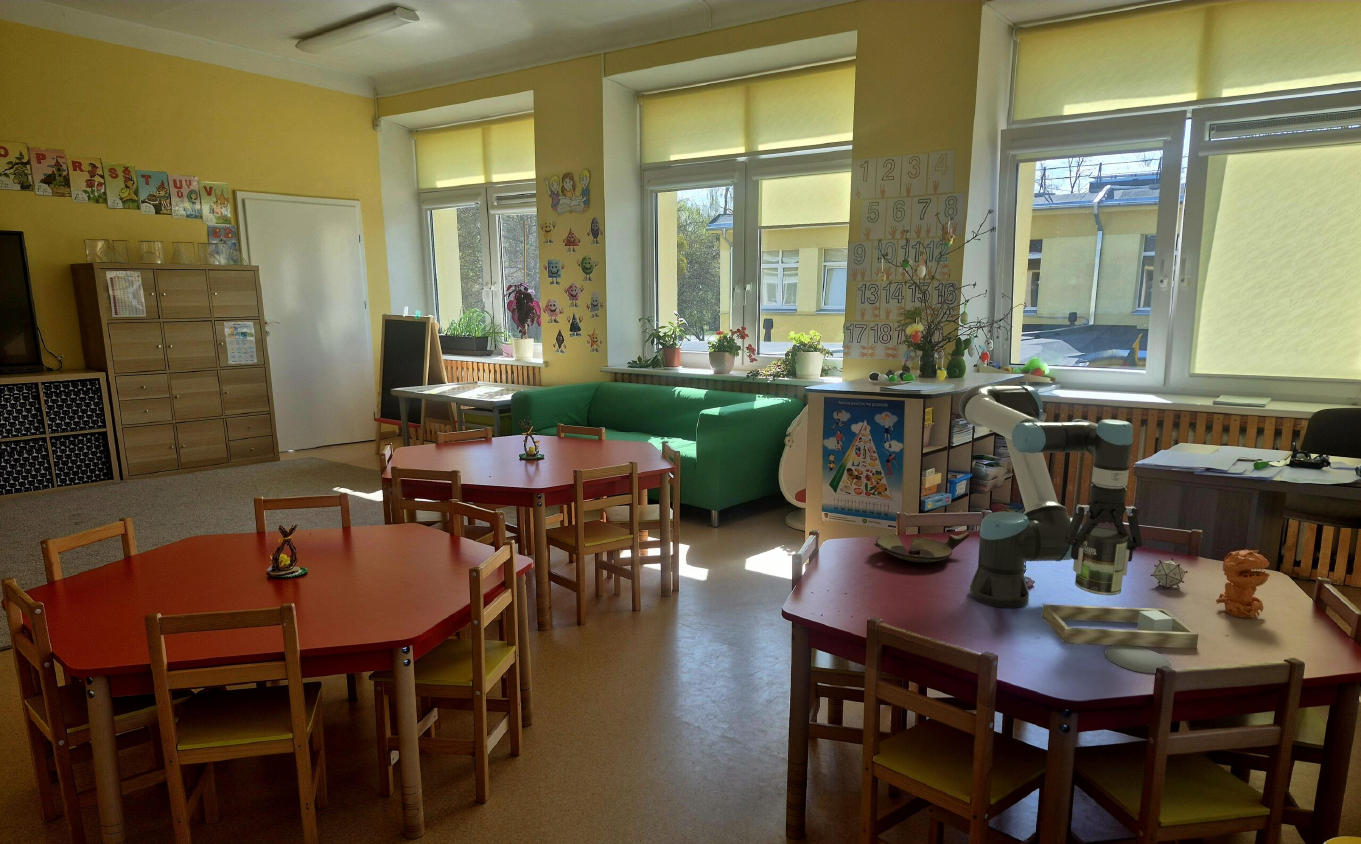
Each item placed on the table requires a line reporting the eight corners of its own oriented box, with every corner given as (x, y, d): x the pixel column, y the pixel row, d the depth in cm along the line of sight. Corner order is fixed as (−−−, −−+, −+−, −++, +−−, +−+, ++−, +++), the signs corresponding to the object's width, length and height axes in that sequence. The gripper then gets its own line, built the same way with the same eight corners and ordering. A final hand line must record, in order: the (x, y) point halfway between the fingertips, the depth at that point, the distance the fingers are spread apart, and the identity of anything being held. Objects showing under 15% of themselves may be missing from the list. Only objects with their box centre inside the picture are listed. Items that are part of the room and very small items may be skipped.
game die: (1174, 601, 221) (1197, 582, 214) (1144, 588, 222) (1166, 569, 215) (1171, 577, 227) (1193, 558, 220) (1142, 565, 228) (1163, 546, 221)
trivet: (1121, 672, 171) (1121, 670, 171) (1095, 645, 184) (1095, 643, 184) (1182, 674, 170) (1183, 672, 170) (1152, 648, 183) (1152, 646, 183)
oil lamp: (870, 545, 257) (871, 523, 256) (965, 550, 252) (966, 528, 251) (875, 568, 236) (876, 544, 234) (979, 575, 231) (981, 550, 229)
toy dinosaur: (1251, 625, 196) (1260, 557, 193) (1205, 609, 206) (1213, 544, 203) (1274, 617, 201) (1284, 550, 198) (1229, 602, 211) (1237, 538, 208)
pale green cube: (1152, 639, 188) (1154, 619, 187) (1137, 630, 193) (1139, 611, 192) (1170, 637, 189) (1172, 618, 188) (1154, 629, 194) (1157, 610, 193)
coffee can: (1090, 596, 185) (1096, 539, 183) (1066, 579, 195) (1071, 526, 193) (1131, 595, 186) (1138, 538, 184) (1104, 578, 196) (1110, 525, 194)
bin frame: (1065, 642, 186) (1066, 629, 185) (1041, 617, 200) (1042, 604, 200) (1196, 648, 183) (1198, 634, 183) (1163, 621, 198) (1164, 608, 197)
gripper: (1066, 487, 183) (1057, 576, 187) (1166, 490, 181) (1155, 580, 185) (1054, 479, 191) (1046, 565, 195) (1150, 482, 189) (1140, 568, 193)
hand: (1099, 572), depth 190 cm, fingers closed on coffee can, 10 cm apart
